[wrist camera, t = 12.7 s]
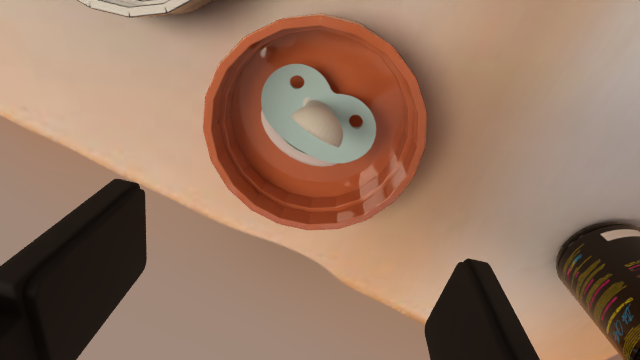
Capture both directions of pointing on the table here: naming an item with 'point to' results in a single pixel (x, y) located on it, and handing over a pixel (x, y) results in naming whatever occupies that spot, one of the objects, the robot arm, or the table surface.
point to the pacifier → (314, 118)
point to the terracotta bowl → (377, 94)
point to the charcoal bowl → (145, 6)
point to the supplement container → (606, 281)
